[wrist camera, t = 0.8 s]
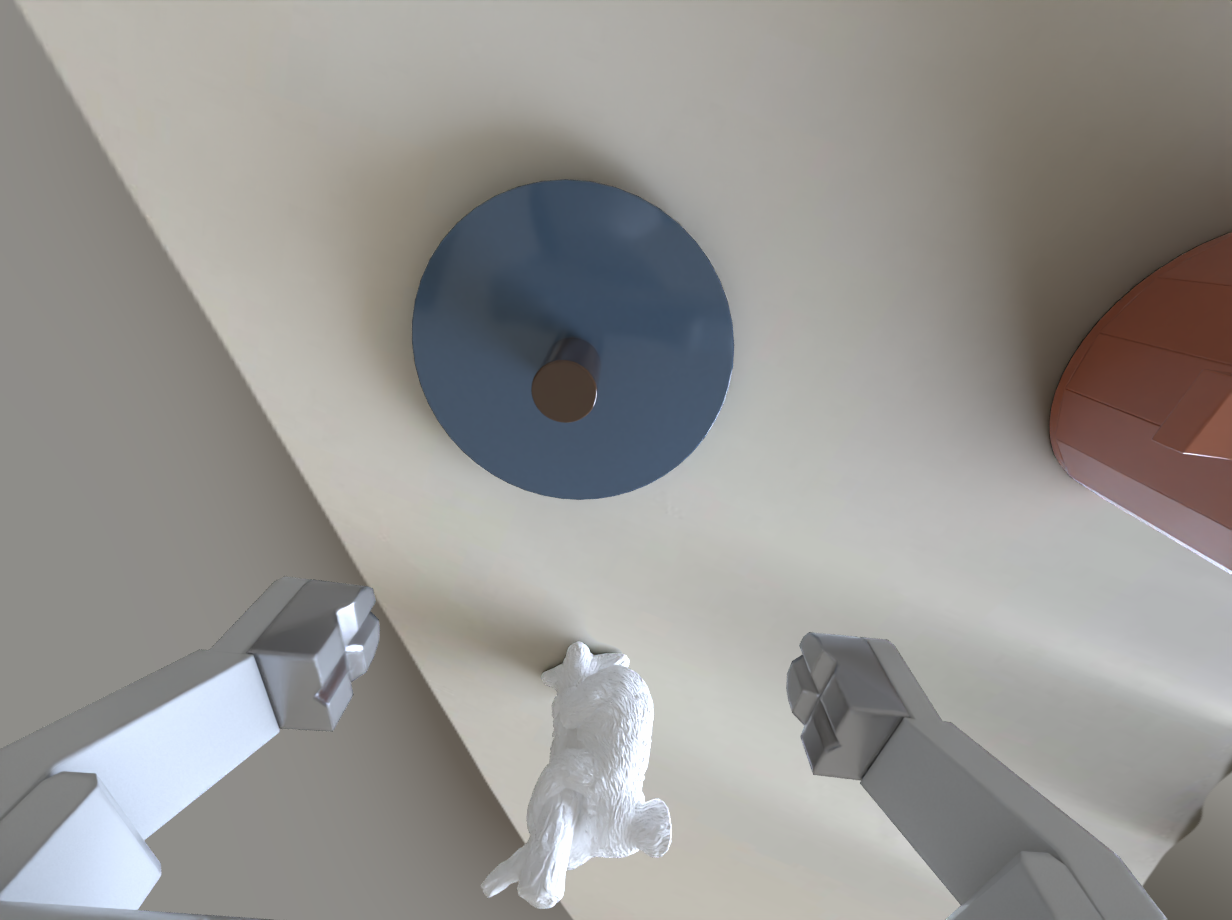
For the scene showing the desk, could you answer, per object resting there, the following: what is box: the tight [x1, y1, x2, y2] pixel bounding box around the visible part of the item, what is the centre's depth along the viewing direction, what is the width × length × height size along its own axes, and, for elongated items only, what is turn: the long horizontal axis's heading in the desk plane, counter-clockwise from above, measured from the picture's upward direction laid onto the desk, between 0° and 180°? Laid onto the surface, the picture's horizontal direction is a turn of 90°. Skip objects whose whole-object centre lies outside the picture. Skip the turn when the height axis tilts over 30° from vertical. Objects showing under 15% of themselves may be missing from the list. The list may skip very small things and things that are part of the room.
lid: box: [412, 179, 734, 500], centre depth 19 cm, size 14×14×5 cm
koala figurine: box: [481, 641, 672, 909], centre depth 25 cm, size 8×7×12 cm
